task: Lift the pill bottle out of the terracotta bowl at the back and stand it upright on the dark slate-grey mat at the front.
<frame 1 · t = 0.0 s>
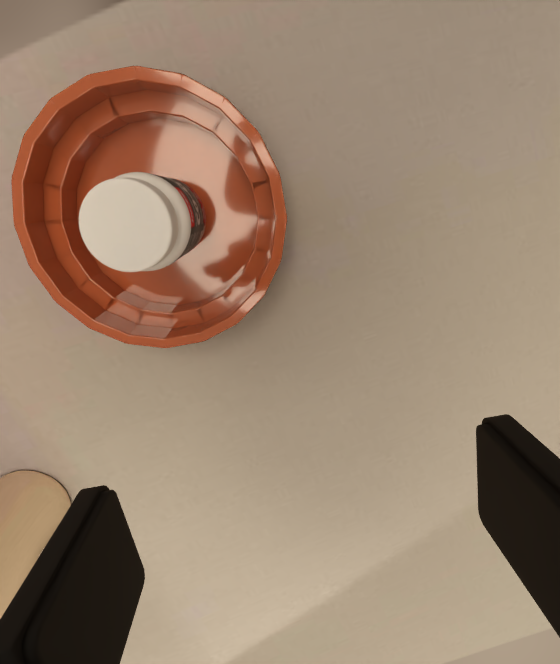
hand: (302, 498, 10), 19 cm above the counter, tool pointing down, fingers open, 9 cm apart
beer glass: (33, 500, 32), on the counter
bowl: (169, 217, 26), on the counter
pill bottle: (169, 217, 26), resting on bowl
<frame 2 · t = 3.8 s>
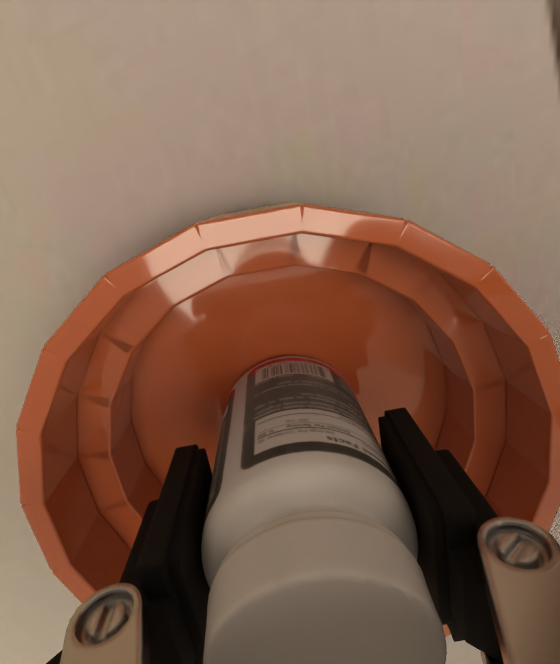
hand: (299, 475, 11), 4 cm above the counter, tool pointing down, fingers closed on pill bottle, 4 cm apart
bowl: (290, 408, 15), on the counter
pill bottle: (290, 411, 15), resting on bowl, touching gripper
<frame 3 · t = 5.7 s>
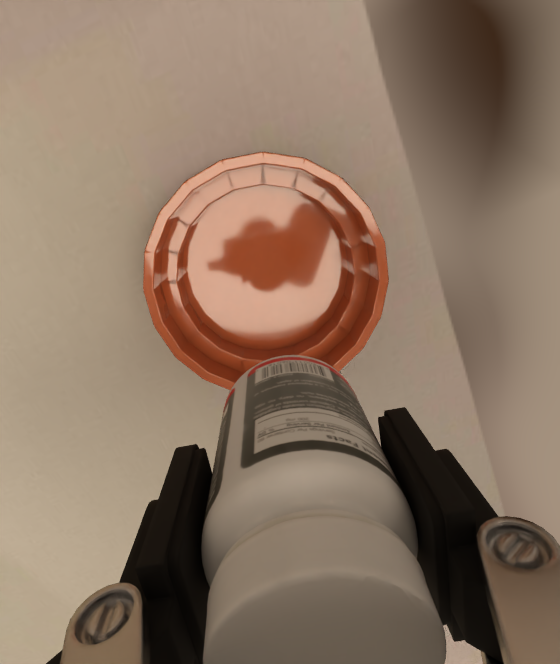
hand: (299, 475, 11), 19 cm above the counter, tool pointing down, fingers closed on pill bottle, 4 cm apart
bowl: (265, 271, 28), on the counter
pill bottle: (290, 410, 15), point 15 cm above the counter, touching gripper
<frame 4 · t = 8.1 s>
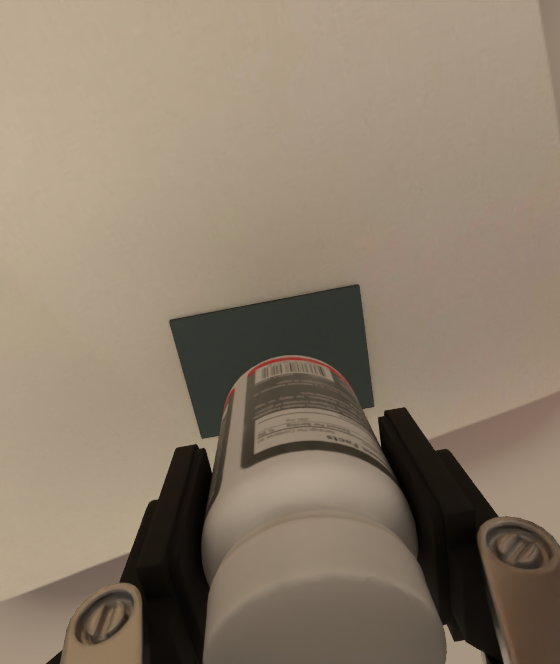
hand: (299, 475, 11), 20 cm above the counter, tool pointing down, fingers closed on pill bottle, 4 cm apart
mat: (276, 364, 32), on the counter
pill bottle: (290, 411, 15), point 16 cm above the counter, touching gripper
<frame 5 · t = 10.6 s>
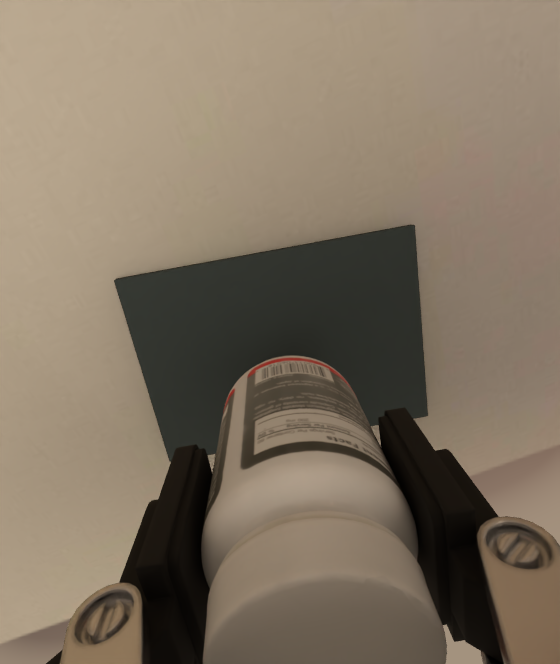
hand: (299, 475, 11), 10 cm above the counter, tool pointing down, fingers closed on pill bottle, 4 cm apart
mat: (281, 350, 21), on the counter
pill bottle: (290, 411, 15), point 6 cm above the counter, touching gripper
when the fingers open (4 cm above the counter, at t = 12.4 s): pill bottle stays where it is, resting on mat.
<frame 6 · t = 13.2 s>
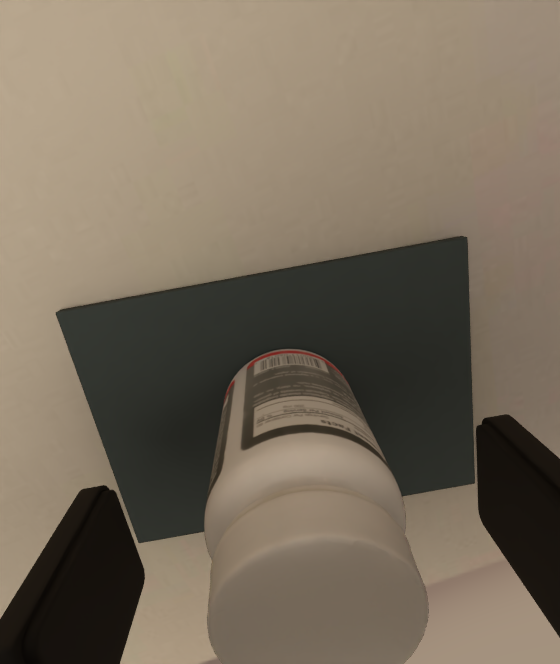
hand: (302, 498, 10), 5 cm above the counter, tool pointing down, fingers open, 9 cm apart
mat: (285, 401, 16), on the counter
pill bottle: (288, 402, 15), resting on mat
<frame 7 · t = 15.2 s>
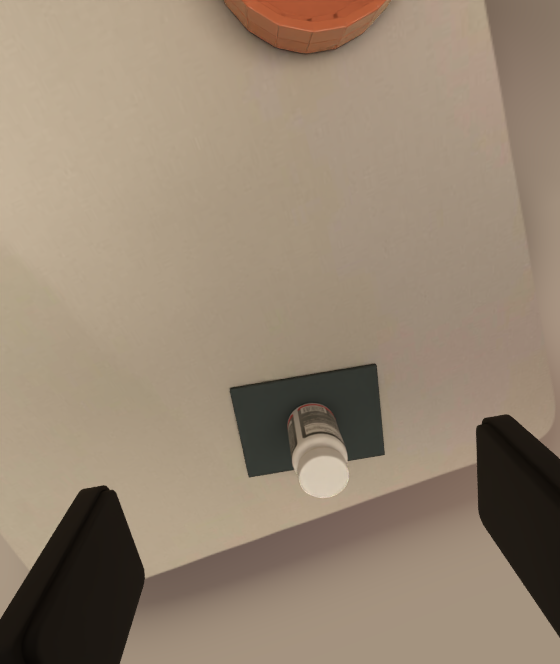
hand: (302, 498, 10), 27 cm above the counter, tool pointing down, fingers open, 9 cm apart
mat: (309, 421, 41), on the counter
pill bottle: (311, 422, 40), resting on mat
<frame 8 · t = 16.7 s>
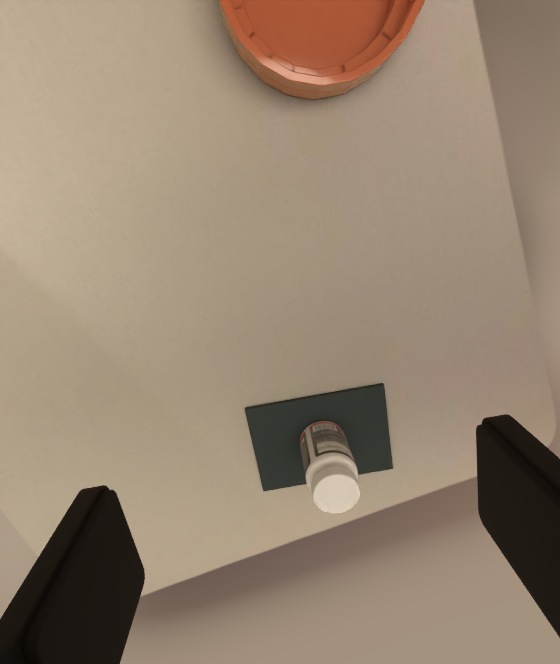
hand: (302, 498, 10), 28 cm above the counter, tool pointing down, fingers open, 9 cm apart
mat: (321, 438, 43), on the counter
pill bottle: (322, 438, 42), resting on mat
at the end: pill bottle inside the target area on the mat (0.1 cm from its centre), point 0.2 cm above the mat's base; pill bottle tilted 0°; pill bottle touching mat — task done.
